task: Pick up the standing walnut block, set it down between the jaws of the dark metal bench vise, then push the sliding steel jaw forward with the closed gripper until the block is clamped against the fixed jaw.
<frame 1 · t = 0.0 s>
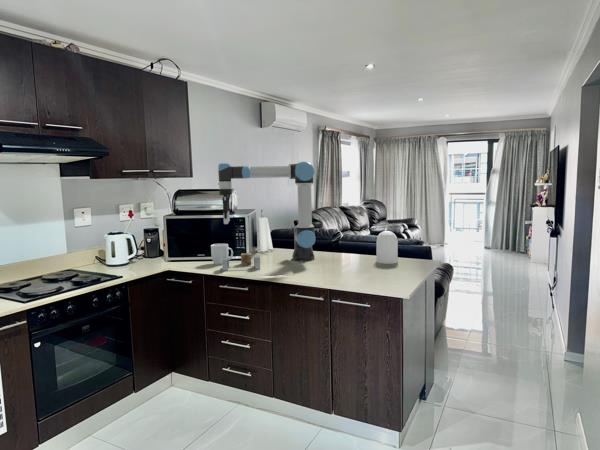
hand: (226, 222, 259), 28 cm above the counter, fingers open, 13 cm apart
vise base: (241, 270, 249), on the counter
block: (246, 266, 261), on the counter
mug: (221, 264, 269), on the counter
container: (386, 261, 267), on the counter
free jaw: (257, 262, 250), point 5 cm above the counter, slide at 0.0 cm
fixed jaw: (225, 269, 248), resting on vise base
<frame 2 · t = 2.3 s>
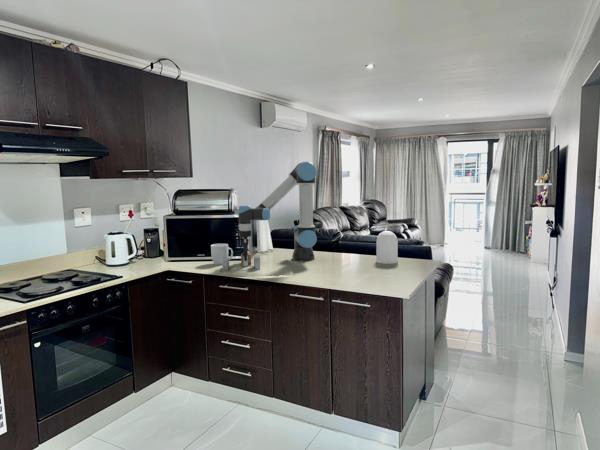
hand: (246, 263, 261), 2 cm above the counter, fingers open, 13 cm apart
nothing on the counter moved.
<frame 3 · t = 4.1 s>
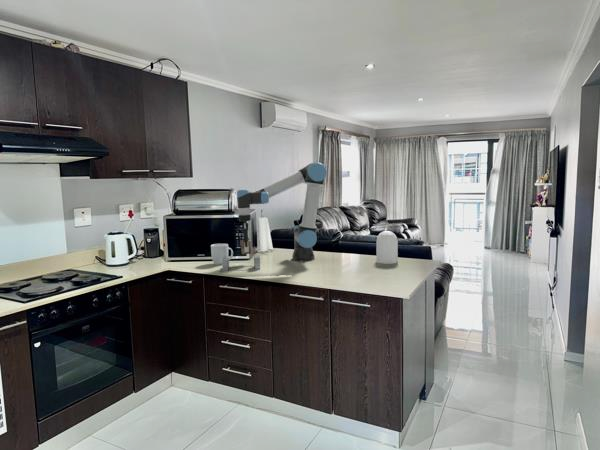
hand: (246, 250, 260), 10 cm above the counter, fingers closed on block, 6 cm apart
block: (246, 253, 260), point 9 cm above the counter, touching gripper
everything else where it was.
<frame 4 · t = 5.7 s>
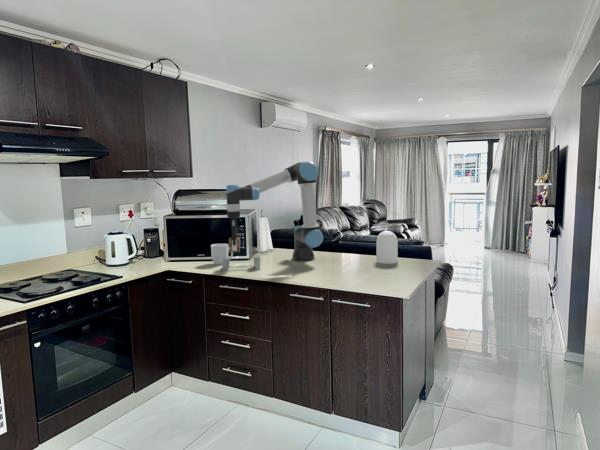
hand: (234, 249, 247), 13 cm above the counter, fingers closed on block, 6 cm apart
block: (234, 251, 247), point 12 cm above the counter, touching gripper
everything else where it was.
when the fingers open (2 cm above the counter, at t = 7.5 s): block stays where it is, resting on vise base.
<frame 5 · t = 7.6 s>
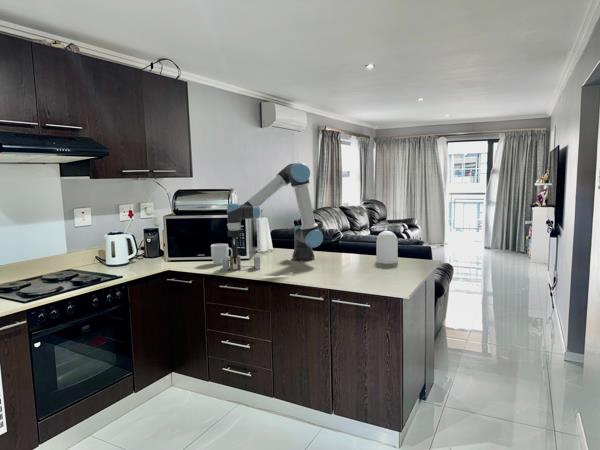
hand: (235, 267, 249), 2 cm above the counter, fingers open, 6 cm apart
block: (235, 269, 249), point 1 cm above the counter, touching vise base
everything else where it was.
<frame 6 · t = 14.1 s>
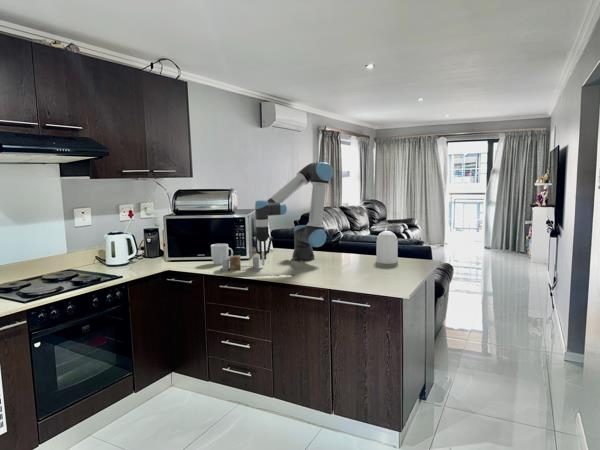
hand: (263, 264, 250), 3 cm above the counter, fingers closed
free jaw: (256, 262, 250), point 5 cm above the counter, slide at 0.7 cm, touching gripper
everything else where it was.
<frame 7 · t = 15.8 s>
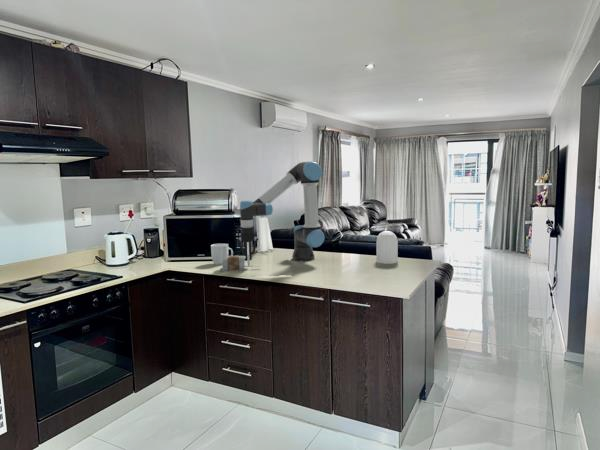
hand: (248, 265, 249), 3 cm above the counter, fingers closed
block: (234, 269, 249), point 1 cm above the counter, touching fixed jaw, free jaw
free jaw: (241, 262, 249), point 5 cm above the counter, slide at 9.2 cm, touching block, gripper
everything else where it was.
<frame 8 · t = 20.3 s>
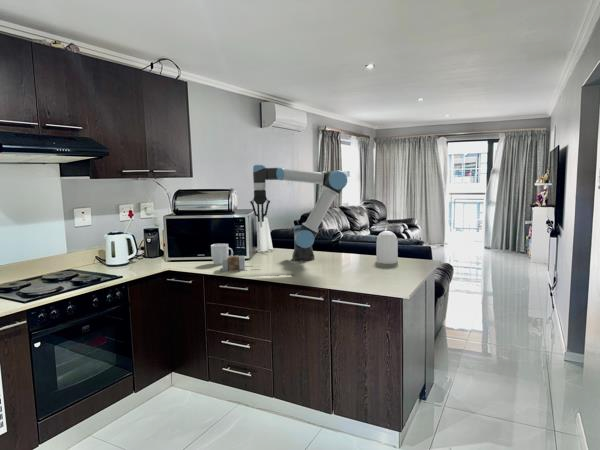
hand: (261, 226, 262), 24 cm above the counter, fingers closed
block: (234, 269, 249), point 1 cm above the counter, touching vise base
free jaw: (241, 262, 249), point 5 cm above the counter, slide at 9.2 cm
everything else where it was.
at the end: free jaw slide at 9.2 cm; block 0.1 cm from the target spot, point 1.0 cm above the counter; block tilted 0° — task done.
